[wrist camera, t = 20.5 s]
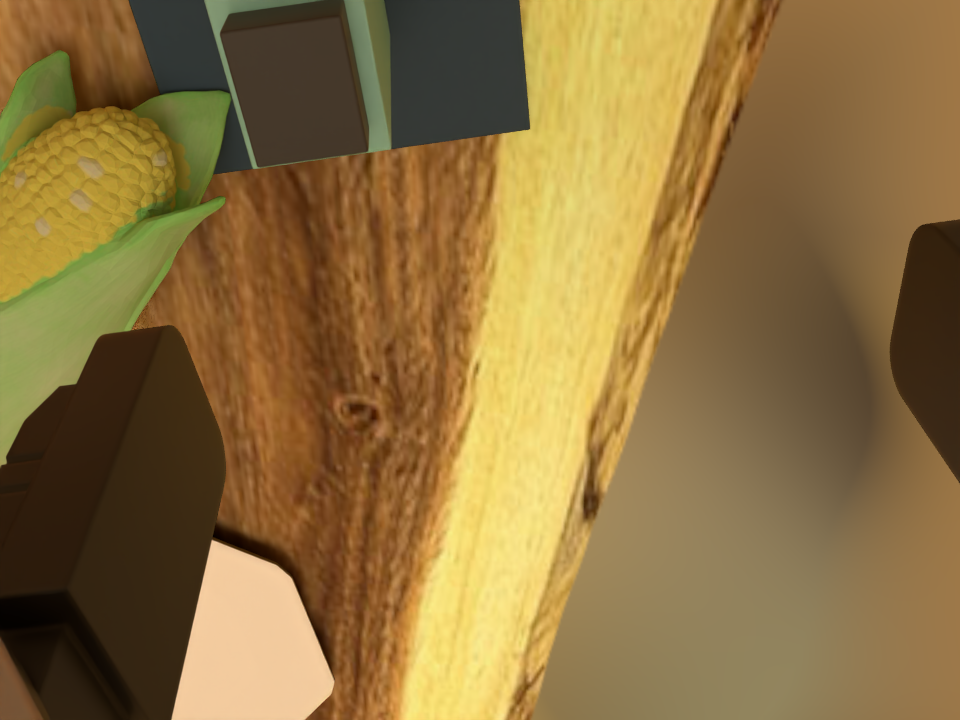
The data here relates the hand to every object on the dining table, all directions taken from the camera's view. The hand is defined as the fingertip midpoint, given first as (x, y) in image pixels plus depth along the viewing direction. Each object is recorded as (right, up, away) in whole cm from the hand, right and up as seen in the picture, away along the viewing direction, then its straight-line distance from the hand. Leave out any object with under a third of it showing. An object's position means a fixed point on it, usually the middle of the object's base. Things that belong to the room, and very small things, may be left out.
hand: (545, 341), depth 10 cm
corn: (-18, +5, +28) cm, 34 cm away
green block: (-6, +10, +18) cm, 21 cm away
